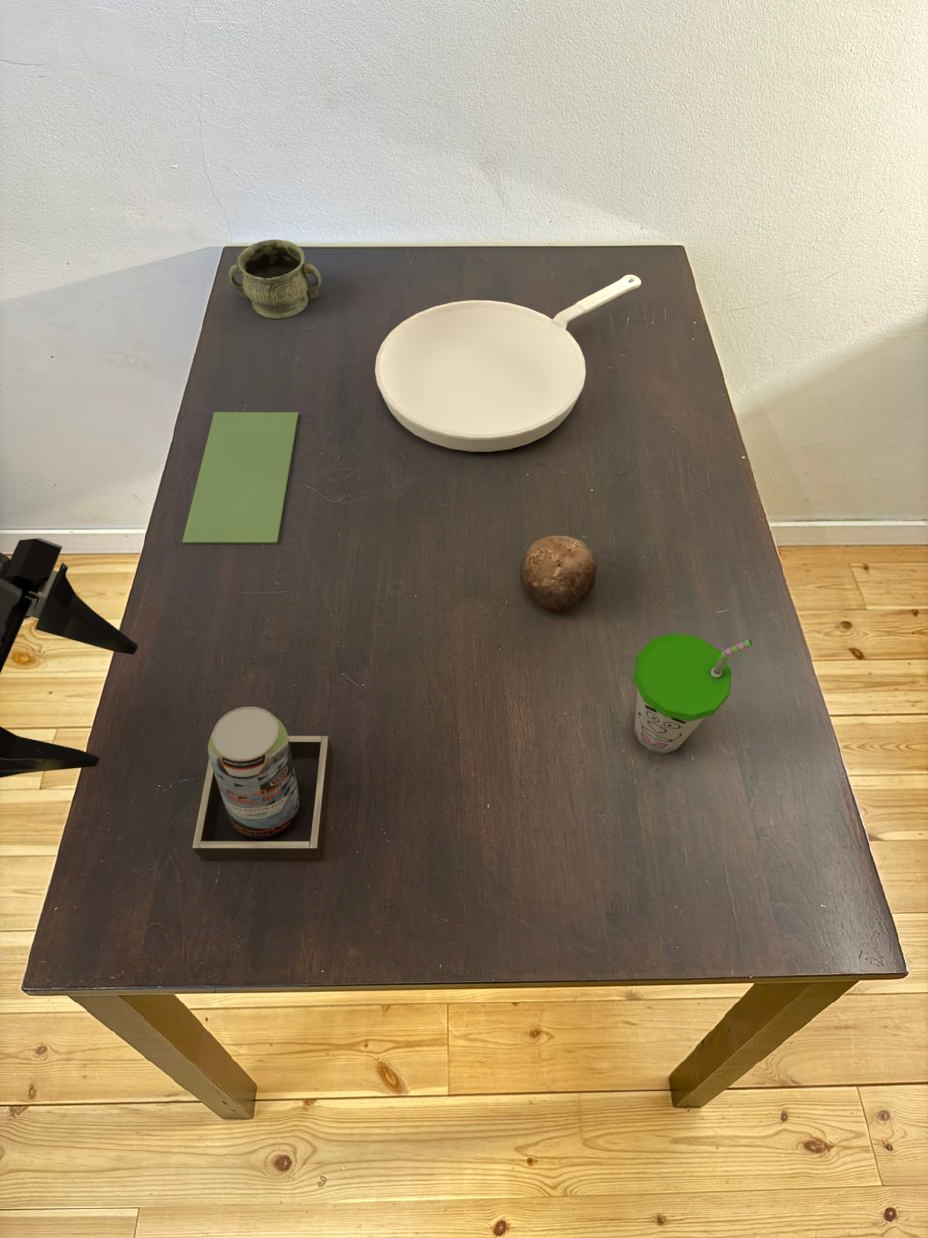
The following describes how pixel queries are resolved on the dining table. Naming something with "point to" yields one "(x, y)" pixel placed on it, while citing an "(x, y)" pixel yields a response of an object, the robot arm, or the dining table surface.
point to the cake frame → (268, 849)
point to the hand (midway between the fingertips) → (117, 703)
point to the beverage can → (254, 772)
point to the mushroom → (558, 573)
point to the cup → (678, 688)
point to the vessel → (275, 278)
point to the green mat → (242, 479)
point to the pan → (485, 371)
